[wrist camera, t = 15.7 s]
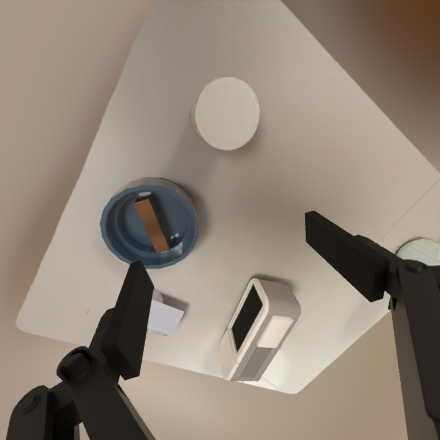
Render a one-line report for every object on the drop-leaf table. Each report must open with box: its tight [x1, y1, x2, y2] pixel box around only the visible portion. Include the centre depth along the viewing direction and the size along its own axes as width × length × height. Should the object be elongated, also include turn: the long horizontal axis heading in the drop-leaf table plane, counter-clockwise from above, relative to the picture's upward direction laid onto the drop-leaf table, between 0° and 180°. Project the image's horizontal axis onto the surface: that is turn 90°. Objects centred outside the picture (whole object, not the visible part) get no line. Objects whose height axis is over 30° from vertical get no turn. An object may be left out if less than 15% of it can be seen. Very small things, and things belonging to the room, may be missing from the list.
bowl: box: [100, 178, 199, 269], centre depth 39 cm, size 17×17×6 cm
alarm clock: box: [219, 278, 301, 381], centre depth 53 cm, size 27×9×12 cm, turn 161°
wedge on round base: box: [147, 289, 184, 336], centre depth 48 cm, size 9×7×13 cm
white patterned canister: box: [191, 77, 260, 150], centre depth 31 cm, size 8×8×12 cm
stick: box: [134, 193, 171, 254], centre depth 40 cm, size 11×3×4 cm, turn 13°
